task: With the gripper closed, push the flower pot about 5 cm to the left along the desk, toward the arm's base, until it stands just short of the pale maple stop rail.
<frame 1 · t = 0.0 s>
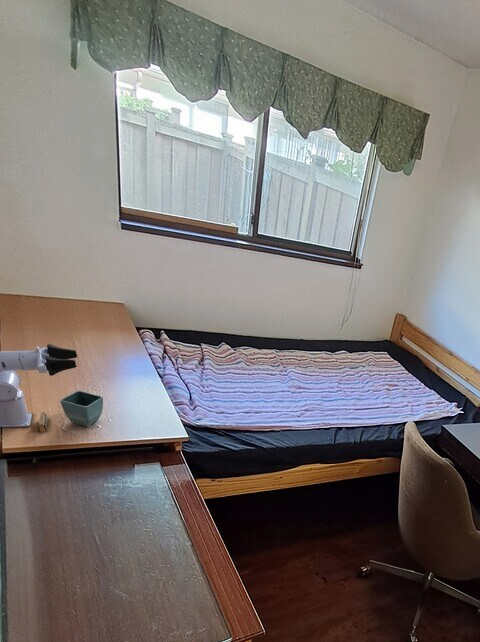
hand: (76, 358, 141), 22 cm above the table, tool horizontal, fingers open, 7 cm apart
stop rail: (44, 425, 145), on the table
flower pot: (86, 422, 152), on the table
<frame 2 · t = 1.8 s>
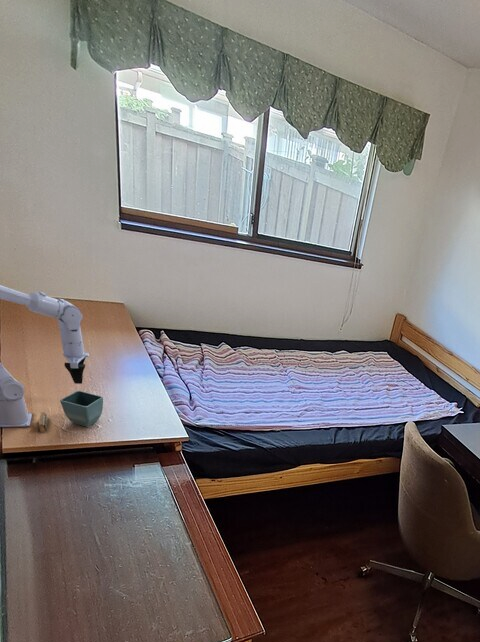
hand: (78, 379, 153), 10 cm above the table, tool pointing down, fingers open, 5 cm apart
nothing on the table moved.
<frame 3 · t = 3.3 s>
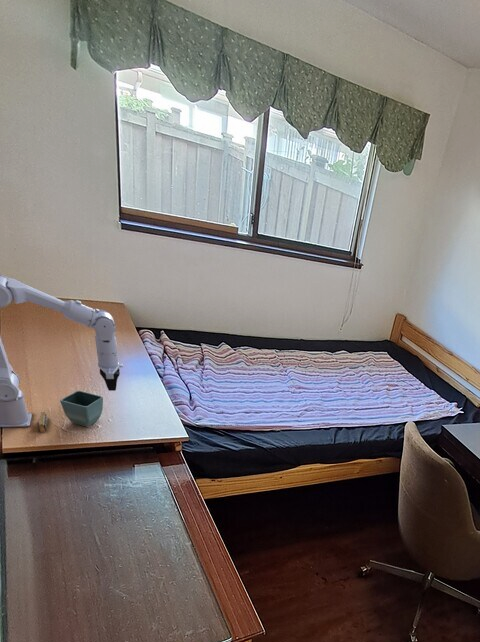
hand: (112, 389, 152), 10 cm above the table, tool pointing down, fingers closed
nothing on the table moved.
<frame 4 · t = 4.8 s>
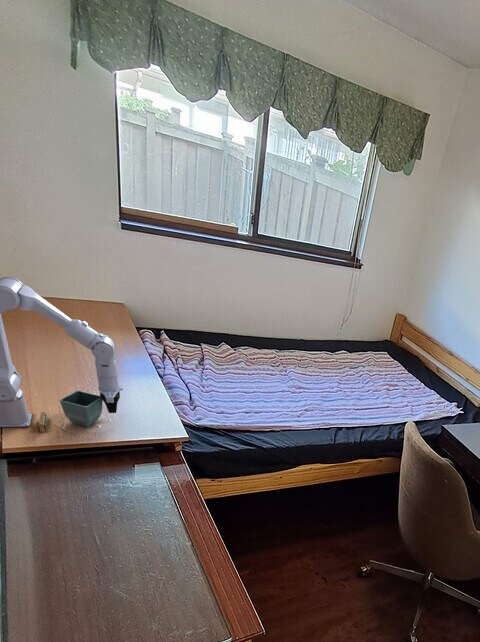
hand: (112, 412, 153), 4 cm above the table, tool pointing down, fingers closed
flower pot: (85, 422, 152), on the table, touching gripper
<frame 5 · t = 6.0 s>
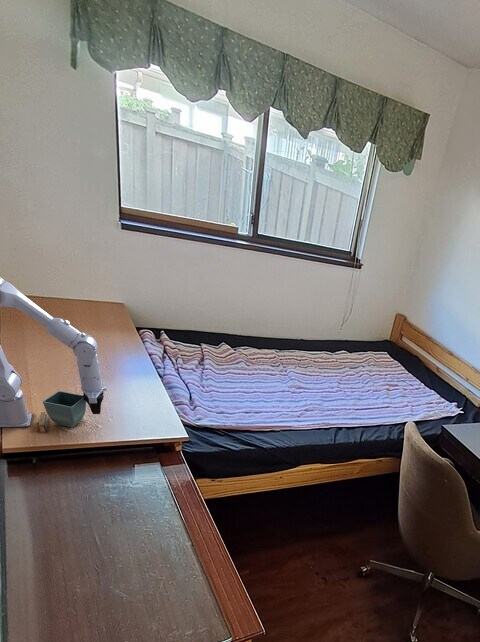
hand: (96, 412, 151), 4 cm above the table, tool pointing down, fingers closed
flower pot: (69, 423, 149), on the table, touching gripper
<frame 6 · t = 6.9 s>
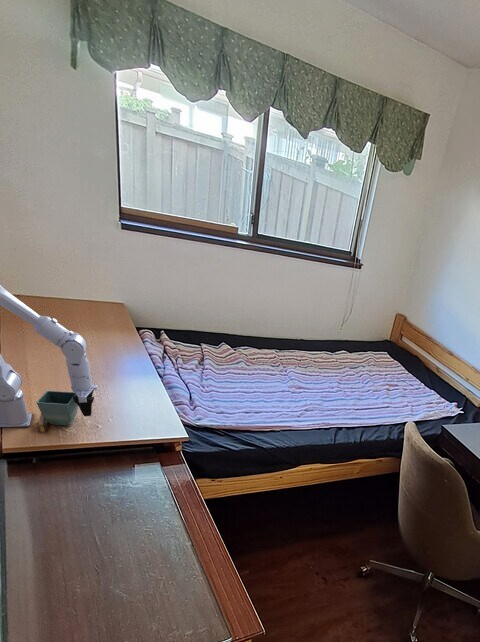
hand: (87, 411, 150), 4 cm above the table, tool pointing down, fingers open, 4 cm apart
flower pot: (63, 422, 149), on the table, touching gripper, stop rail
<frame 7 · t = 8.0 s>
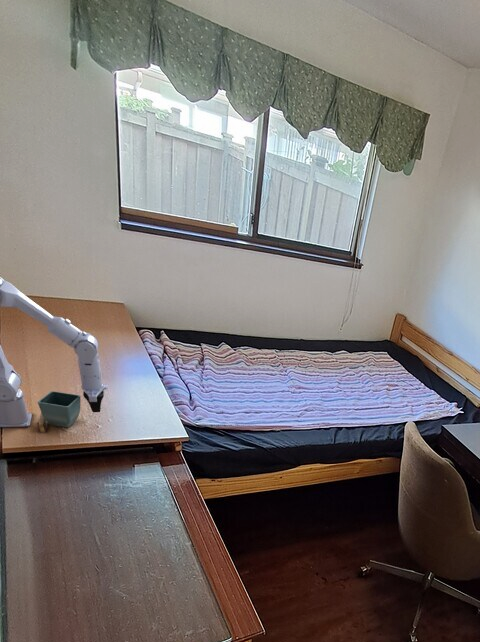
hand: (96, 411, 151), 4 cm above the table, tool pointing down, fingers closed
flower pot: (64, 423, 149), on the table
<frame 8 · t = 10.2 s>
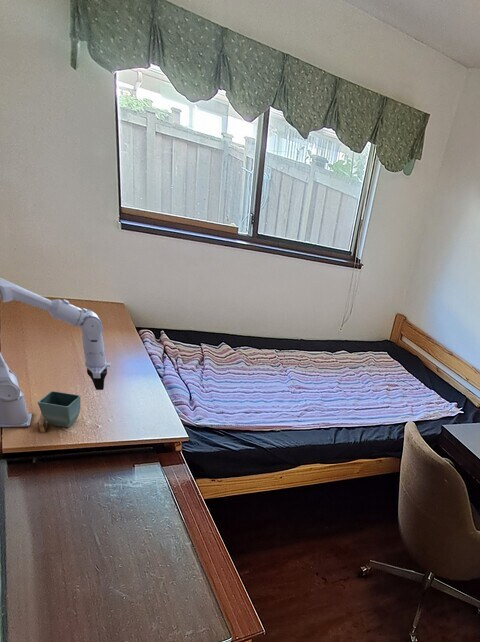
hand: (99, 389, 153), 9 cm above the table, tool pointing down, fingers closed
nothing on the table moved.
at the end: flower pot 0.3 cm from the target spot, on the table; flower pot tilted 0° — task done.
